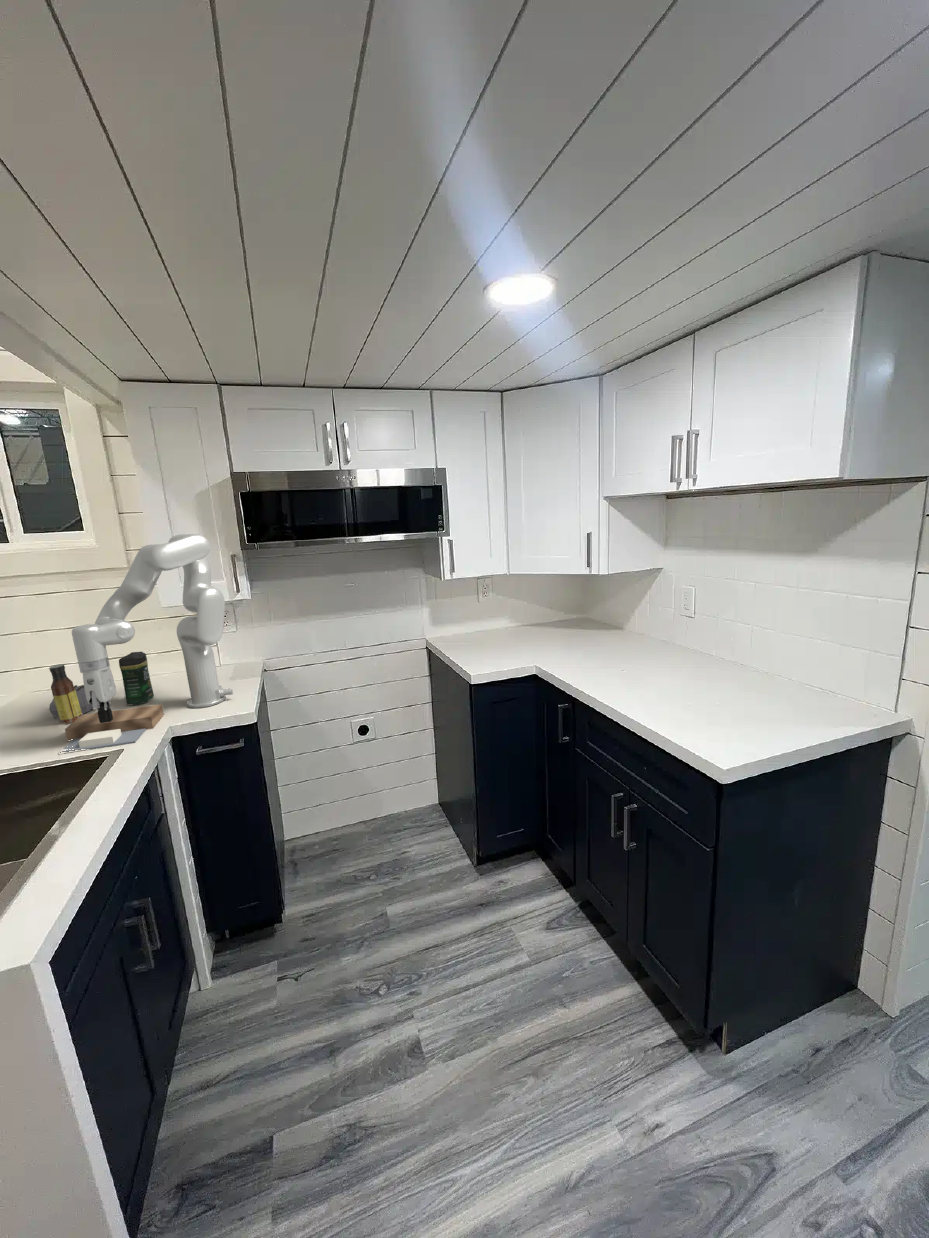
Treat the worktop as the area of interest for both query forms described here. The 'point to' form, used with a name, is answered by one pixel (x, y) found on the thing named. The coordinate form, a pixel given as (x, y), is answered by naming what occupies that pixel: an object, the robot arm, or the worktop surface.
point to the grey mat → (125, 738)
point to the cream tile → (100, 738)
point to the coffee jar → (136, 678)
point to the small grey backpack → (81, 698)
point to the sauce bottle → (64, 695)
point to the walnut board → (116, 721)
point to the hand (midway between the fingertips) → (106, 721)
